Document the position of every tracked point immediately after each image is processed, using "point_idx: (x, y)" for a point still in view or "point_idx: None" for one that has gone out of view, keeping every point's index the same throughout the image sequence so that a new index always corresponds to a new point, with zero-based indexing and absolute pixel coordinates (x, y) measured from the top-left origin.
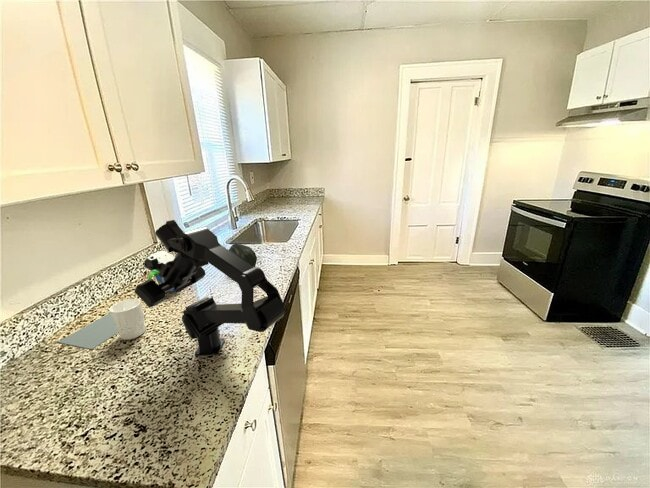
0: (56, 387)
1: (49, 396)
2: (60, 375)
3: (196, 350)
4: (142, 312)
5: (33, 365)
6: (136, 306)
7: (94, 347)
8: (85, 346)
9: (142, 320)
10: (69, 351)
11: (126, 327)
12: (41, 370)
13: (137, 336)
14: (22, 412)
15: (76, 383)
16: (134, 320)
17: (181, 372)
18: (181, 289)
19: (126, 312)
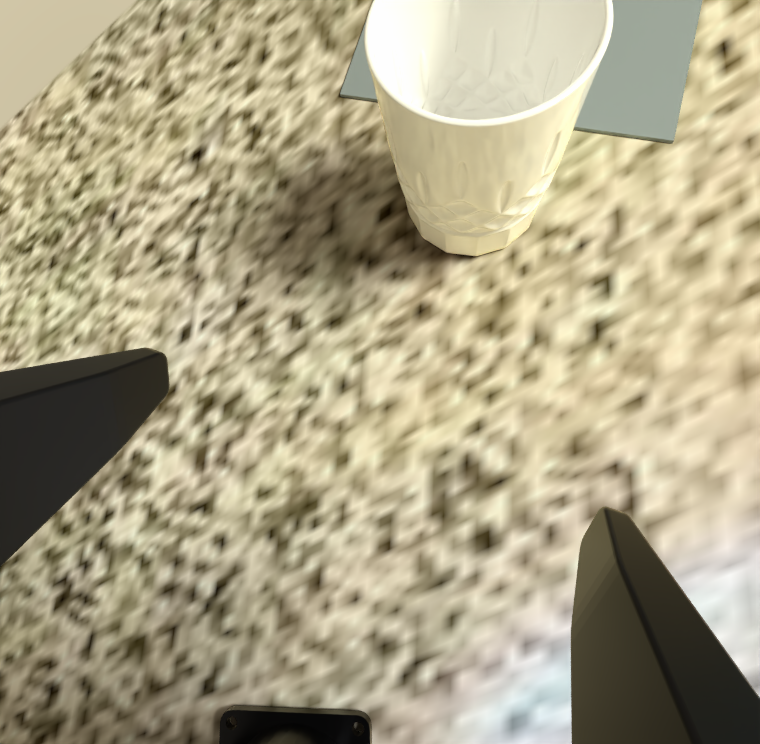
0: (120, 151)
1: (79, 166)
2: (184, 109)
3: (255, 712)
4: (519, 179)
5: None
6: (463, 127)
7: (353, 96)
8: (361, 51)
9: (491, 214)
10: (335, 14)
11: (398, 171)
12: (224, 16)
13: (433, 244)
14: (26, 143)
15: (128, 207)
16: (427, 186)
17: (109, 675)
18: (573, 702)
19: (389, 105)
